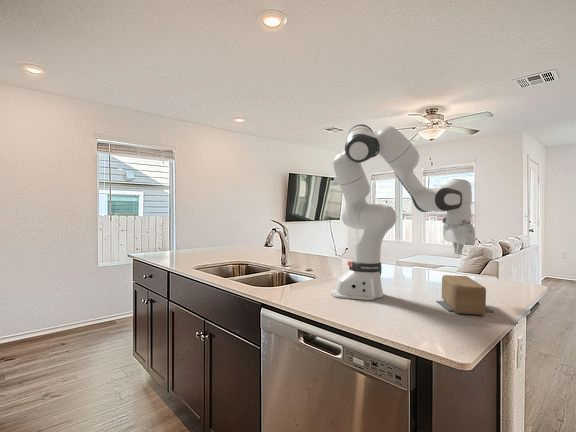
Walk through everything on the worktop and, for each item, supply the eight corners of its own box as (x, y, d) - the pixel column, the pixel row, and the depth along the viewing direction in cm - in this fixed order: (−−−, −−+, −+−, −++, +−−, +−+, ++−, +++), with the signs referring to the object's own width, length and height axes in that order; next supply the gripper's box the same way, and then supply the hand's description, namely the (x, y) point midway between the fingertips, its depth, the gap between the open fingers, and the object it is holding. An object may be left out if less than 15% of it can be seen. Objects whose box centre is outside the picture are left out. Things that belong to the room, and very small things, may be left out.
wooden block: (467, 300, 134) (486, 316, 114) (440, 298, 136) (455, 313, 116) (468, 275, 134) (487, 287, 114) (441, 274, 136) (455, 285, 116)
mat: (449, 311, 121) (449, 310, 121) (436, 301, 133) (436, 300, 133) (494, 312, 120) (494, 311, 120) (477, 302, 132) (477, 301, 132)
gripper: (480, 221, 123) (479, 258, 123) (455, 218, 143) (454, 250, 144) (462, 220, 123) (462, 257, 123) (440, 218, 143) (439, 250, 144)
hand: (457, 254), depth 134 cm, fingers closed
